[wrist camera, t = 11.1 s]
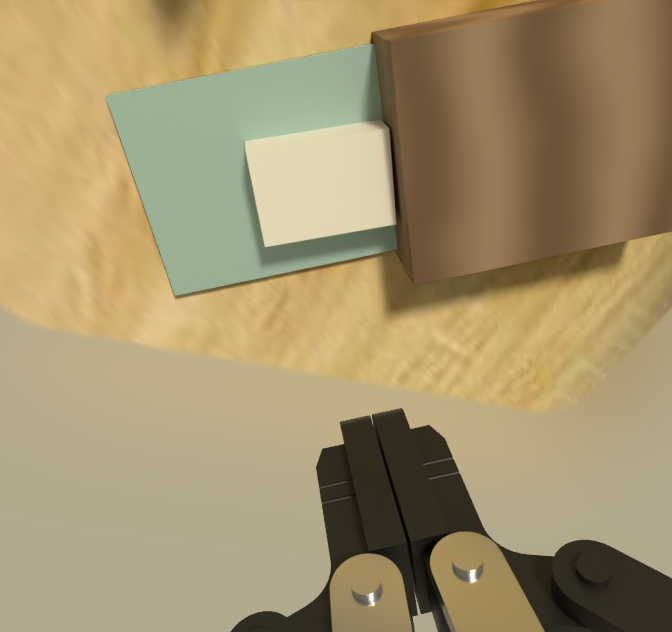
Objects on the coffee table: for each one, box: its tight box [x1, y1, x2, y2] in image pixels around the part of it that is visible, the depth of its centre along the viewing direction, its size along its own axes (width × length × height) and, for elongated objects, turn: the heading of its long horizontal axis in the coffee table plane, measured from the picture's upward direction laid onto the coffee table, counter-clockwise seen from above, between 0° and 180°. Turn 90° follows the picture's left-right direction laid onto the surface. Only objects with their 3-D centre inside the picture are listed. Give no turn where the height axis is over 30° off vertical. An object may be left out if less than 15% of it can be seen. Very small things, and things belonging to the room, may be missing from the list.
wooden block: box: [372, 0, 672, 286], centre depth 30 cm, size 15×12×4 cm
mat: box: [106, 44, 397, 296], centre depth 31 cm, size 13×11×1 cm
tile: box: [245, 119, 396, 247], centre depth 31 cm, size 7×5×2 cm
